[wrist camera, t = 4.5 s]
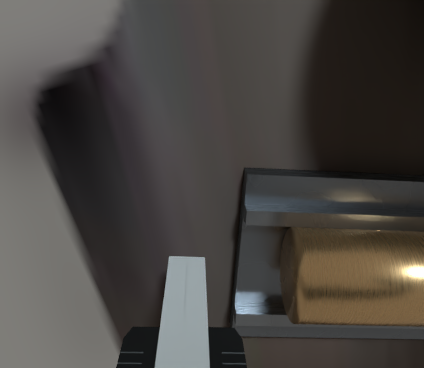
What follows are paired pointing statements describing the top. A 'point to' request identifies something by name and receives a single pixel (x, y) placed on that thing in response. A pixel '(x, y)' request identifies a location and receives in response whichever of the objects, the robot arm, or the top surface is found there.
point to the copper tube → (353, 277)
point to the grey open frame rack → (311, 218)
